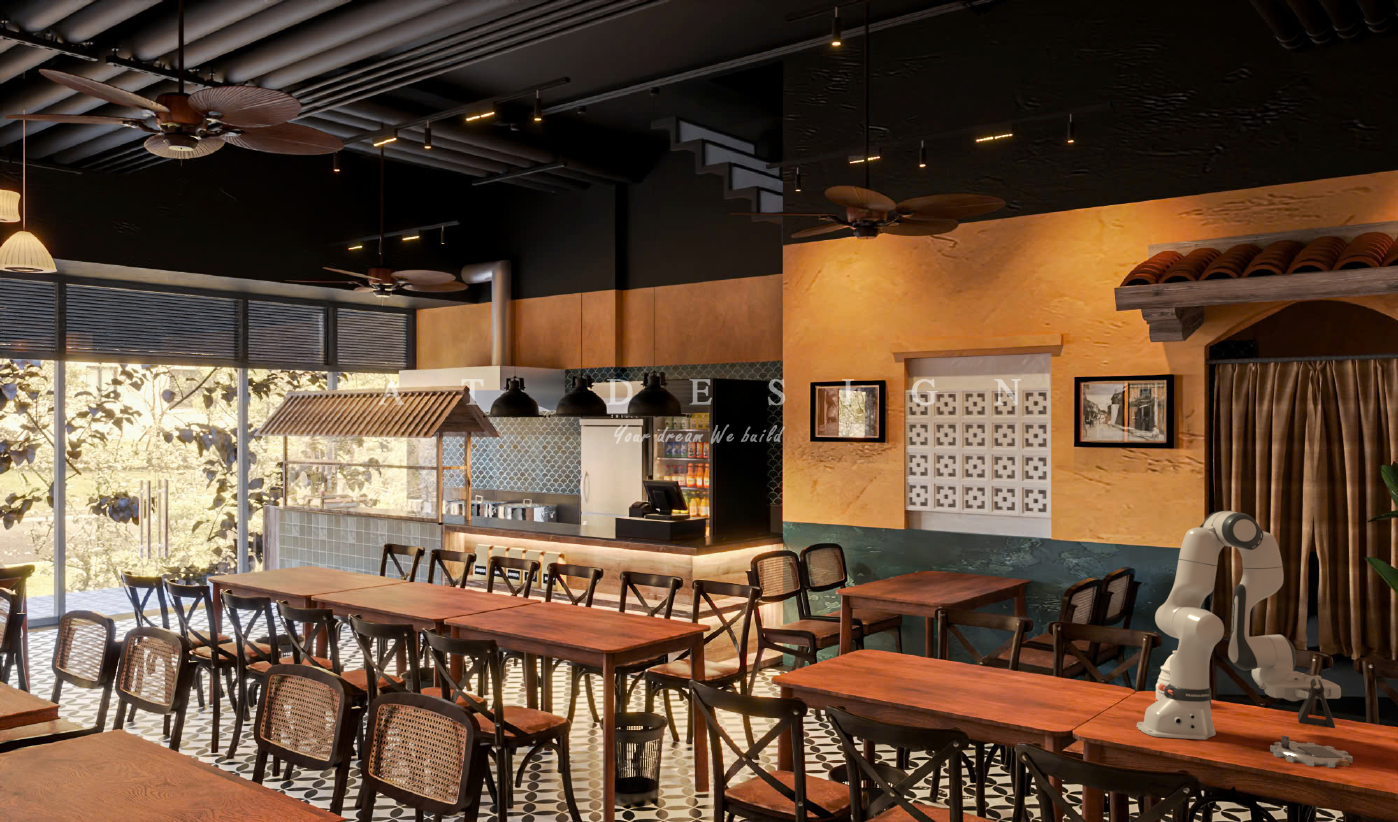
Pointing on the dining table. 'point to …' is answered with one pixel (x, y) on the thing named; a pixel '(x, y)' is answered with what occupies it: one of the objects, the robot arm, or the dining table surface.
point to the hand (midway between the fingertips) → (1317, 696)
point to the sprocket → (1310, 753)
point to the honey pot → (1164, 677)
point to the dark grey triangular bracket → (1307, 706)
